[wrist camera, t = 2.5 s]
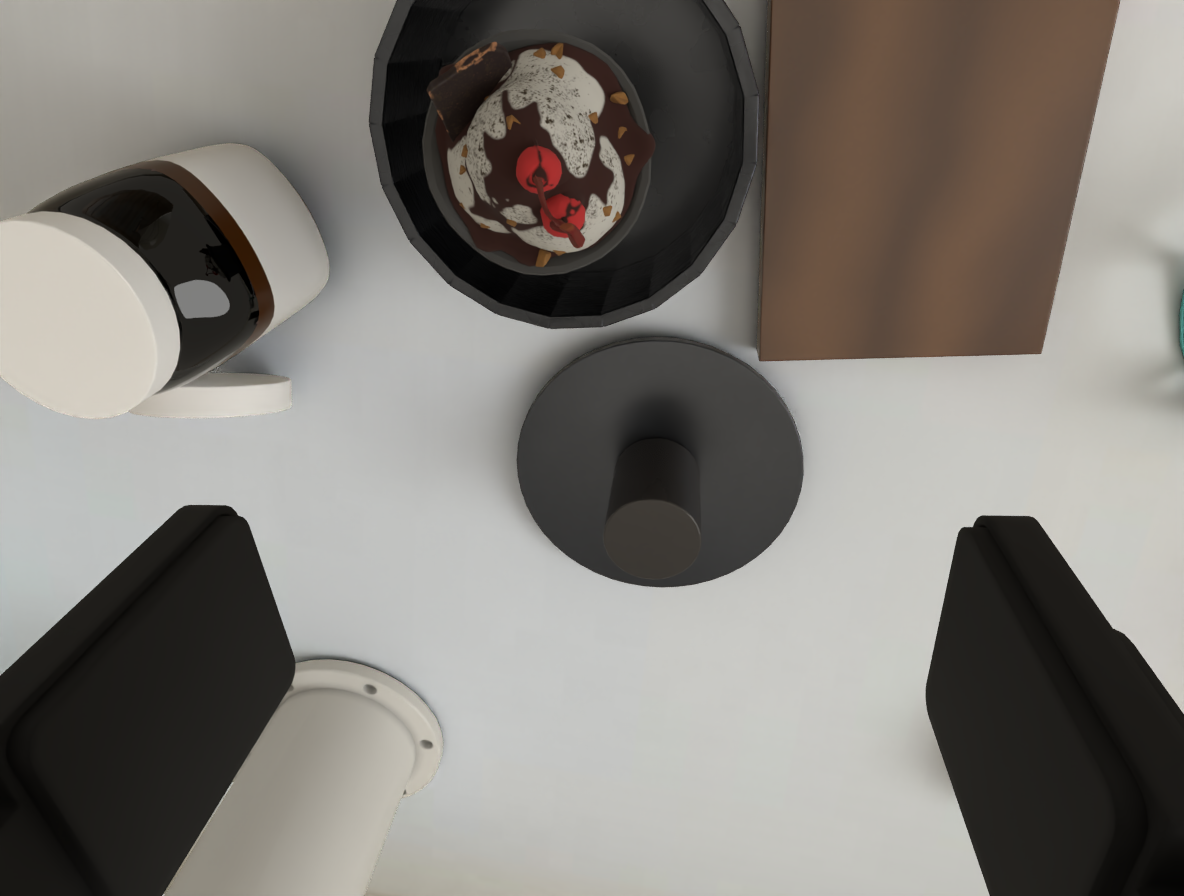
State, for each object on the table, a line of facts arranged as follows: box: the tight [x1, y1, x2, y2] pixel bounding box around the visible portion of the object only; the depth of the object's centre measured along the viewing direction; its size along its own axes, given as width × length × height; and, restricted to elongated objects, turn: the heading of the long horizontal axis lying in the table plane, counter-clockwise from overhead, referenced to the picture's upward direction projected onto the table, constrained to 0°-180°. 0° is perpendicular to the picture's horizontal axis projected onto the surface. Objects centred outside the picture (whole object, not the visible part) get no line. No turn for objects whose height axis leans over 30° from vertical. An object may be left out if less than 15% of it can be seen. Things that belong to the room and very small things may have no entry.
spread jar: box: [0, 143, 330, 419], centre depth 30 cm, size 12×11×12 cm
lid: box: [517, 337, 803, 587], centre depth 35 cm, size 14×14×7 cm
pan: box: [369, 0, 759, 329], centre depth 28 cm, size 13×13×6 cm
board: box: [757, 0, 1120, 361], centre depth 28 cm, size 12×20×2 cm, turn 4°
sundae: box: [422, 29, 655, 275], centre depth 24 cm, size 7×7×15 cm
